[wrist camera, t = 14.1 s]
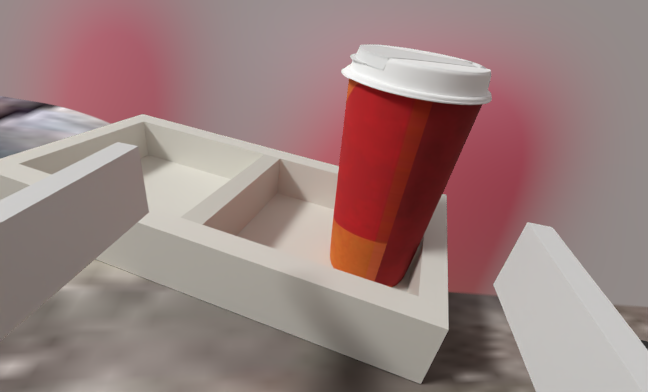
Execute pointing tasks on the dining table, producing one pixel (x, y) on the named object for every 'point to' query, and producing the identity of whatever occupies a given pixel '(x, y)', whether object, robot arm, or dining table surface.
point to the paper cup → (398, 153)
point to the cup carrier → (259, 241)
